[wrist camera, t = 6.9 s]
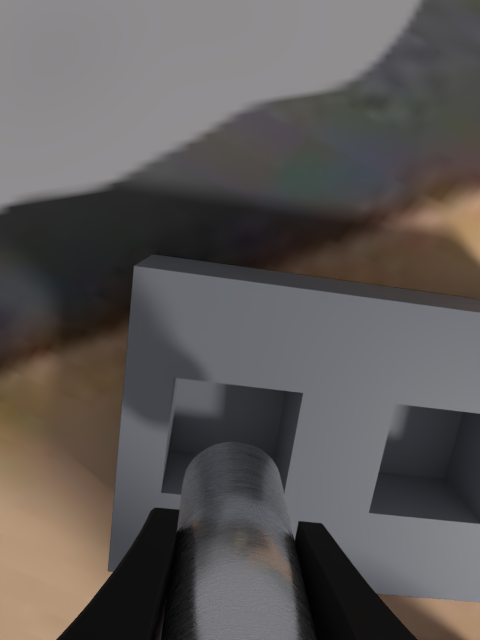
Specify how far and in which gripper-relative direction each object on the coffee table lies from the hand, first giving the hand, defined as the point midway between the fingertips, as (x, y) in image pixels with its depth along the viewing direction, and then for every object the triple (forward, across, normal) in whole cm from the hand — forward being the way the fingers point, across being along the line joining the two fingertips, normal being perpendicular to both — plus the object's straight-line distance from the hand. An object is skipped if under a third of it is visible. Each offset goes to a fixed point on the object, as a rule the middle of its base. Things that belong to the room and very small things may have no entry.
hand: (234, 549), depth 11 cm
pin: (+2, 0, 0) cm, 3 cm away
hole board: (+9, -4, 0) cm, 10 cm away
